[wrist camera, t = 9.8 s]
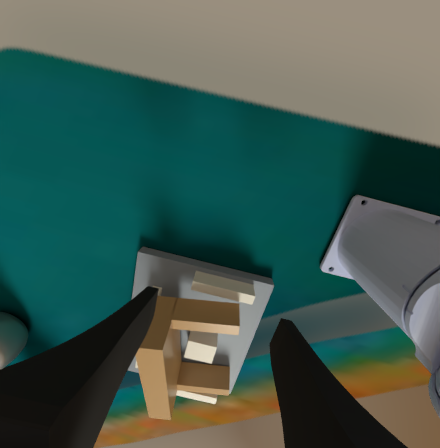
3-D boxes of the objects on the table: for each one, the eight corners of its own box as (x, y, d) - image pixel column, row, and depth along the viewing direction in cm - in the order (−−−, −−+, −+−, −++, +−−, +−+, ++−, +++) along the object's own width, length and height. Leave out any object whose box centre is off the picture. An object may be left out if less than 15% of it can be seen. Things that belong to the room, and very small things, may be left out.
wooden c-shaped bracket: (239, 303, 20) (240, 358, 16) (229, 372, 26) (227, 426, 21) (155, 295, 20) (133, 347, 16) (164, 365, 26) (149, 417, 21)
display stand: (271, 278, 22) (278, 300, 19) (230, 384, 28) (230, 414, 25) (142, 246, 22) (127, 263, 19) (127, 360, 28) (113, 387, 24)
